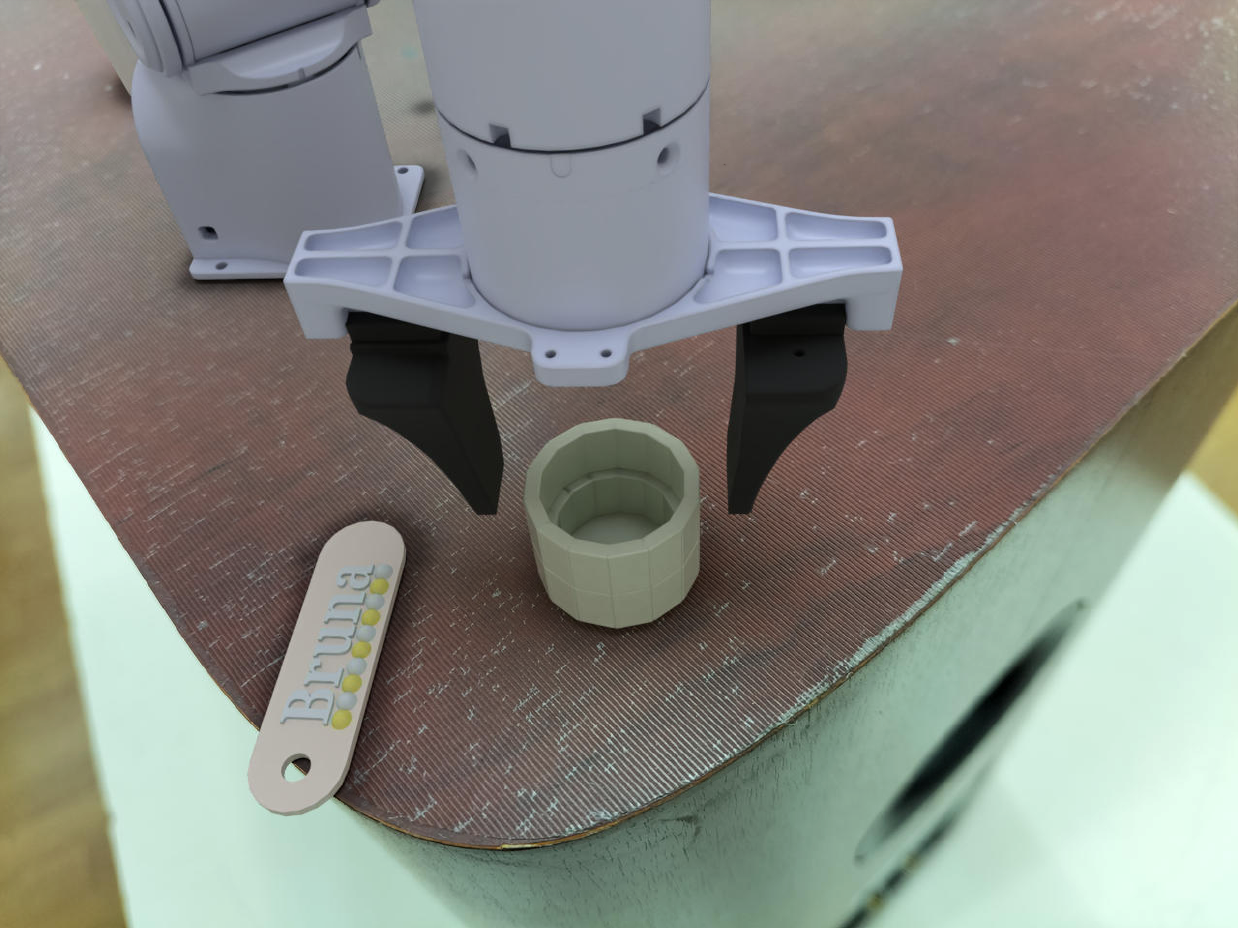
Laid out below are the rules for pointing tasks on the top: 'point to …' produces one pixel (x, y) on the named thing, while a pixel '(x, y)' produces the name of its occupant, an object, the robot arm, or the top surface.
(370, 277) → the robot arm
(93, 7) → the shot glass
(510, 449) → the top surface
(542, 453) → the green faceted cup
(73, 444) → the top surface
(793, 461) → the top surface
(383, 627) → the keychain
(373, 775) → the top surface
